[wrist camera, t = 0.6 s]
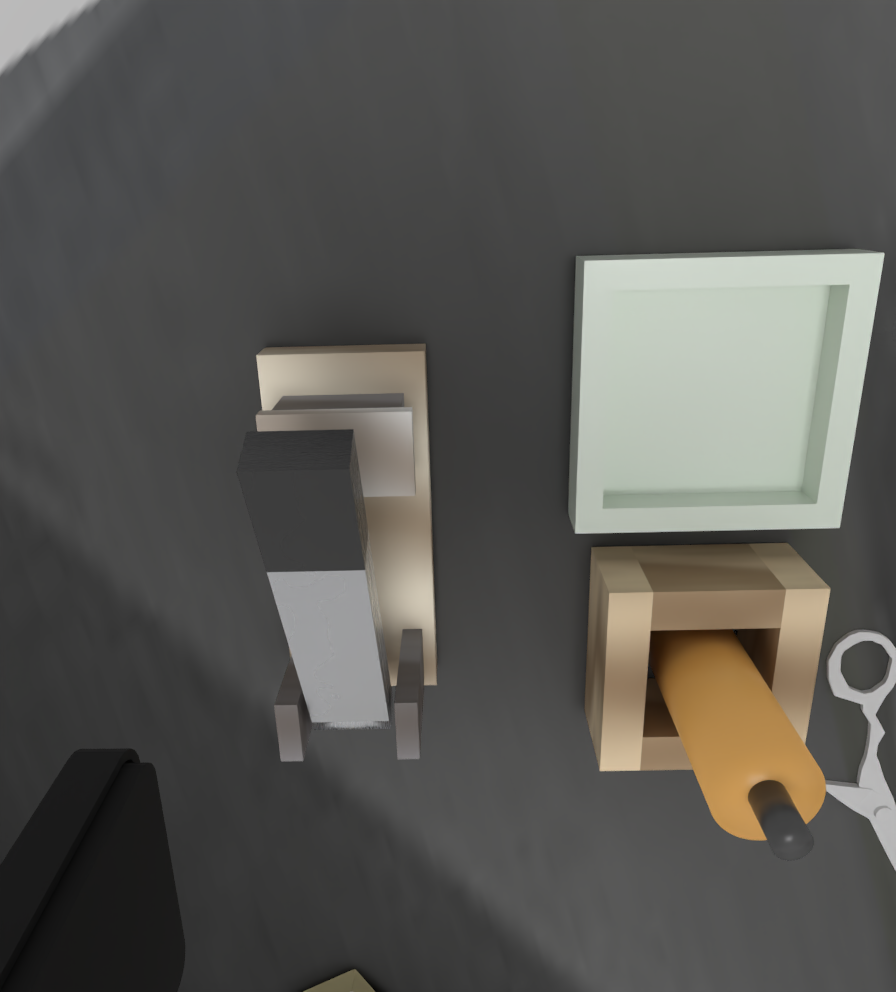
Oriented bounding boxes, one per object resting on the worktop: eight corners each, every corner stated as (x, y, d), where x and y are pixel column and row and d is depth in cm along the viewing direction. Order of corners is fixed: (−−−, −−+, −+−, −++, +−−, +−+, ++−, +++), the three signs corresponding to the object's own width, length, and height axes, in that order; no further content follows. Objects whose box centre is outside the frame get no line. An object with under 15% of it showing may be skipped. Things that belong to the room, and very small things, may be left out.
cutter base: (437, 665, 35) (433, 765, 29) (299, 667, 35) (268, 768, 29) (425, 343, 30) (419, 383, 24) (265, 347, 30) (218, 388, 24)
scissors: (855, 597, 33) (1080, 874, 39) (846, 588, 34) (1068, 861, 39) (650, 736, 36) (885, 978, 41) (646, 725, 37) (878, 964, 42)
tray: (817, 508, 32) (839, 527, 30) (567, 513, 32) (575, 533, 31) (856, 248, 29) (884, 253, 27) (575, 255, 29) (584, 260, 27)
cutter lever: (393, 698, 31) (391, 736, 30) (320, 699, 31) (316, 737, 30) (353, 427, 21) (349, 470, 20) (247, 430, 21) (236, 473, 20)
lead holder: (764, 706, 36) (801, 767, 32) (584, 710, 36) (599, 771, 32) (787, 542, 33) (830, 588, 29) (591, 546, 33) (609, 593, 29)
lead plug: (719, 665, 35) (846, 891, 24) (636, 666, 35) (723, 892, 24) (728, 591, 34) (865, 793, 22) (641, 593, 34) (736, 795, 22)
